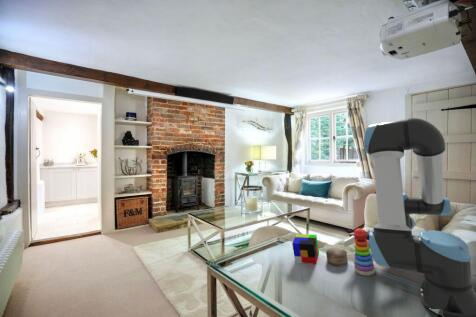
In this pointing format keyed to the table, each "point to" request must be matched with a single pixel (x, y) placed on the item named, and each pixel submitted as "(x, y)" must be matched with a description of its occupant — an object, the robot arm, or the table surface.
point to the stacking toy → (363, 254)
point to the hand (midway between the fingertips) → (358, 249)
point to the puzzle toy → (305, 248)
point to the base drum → (337, 256)
